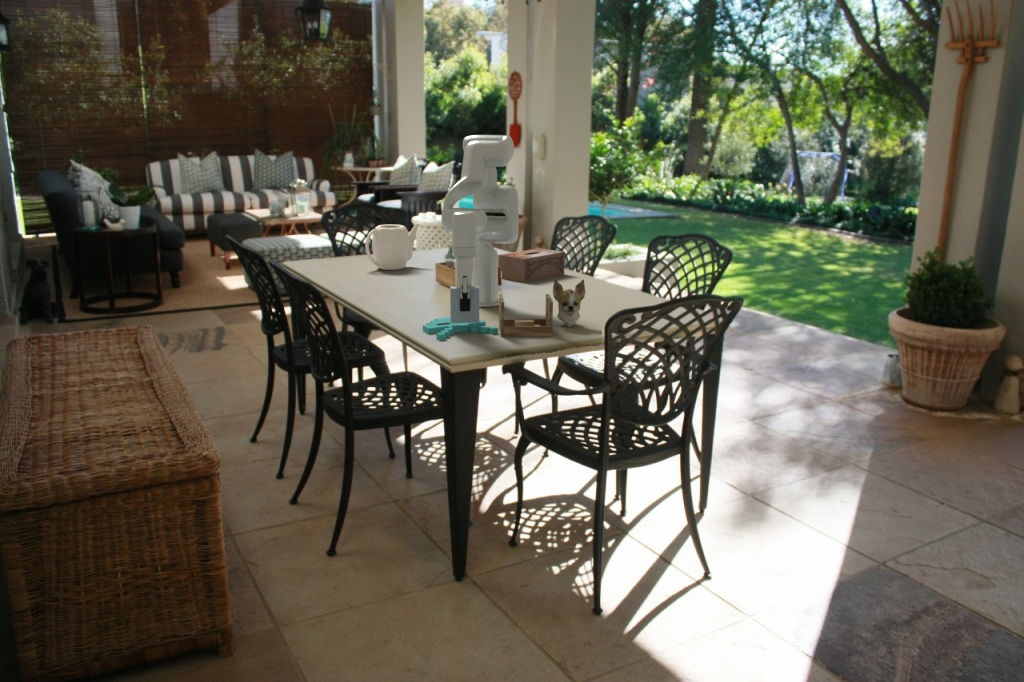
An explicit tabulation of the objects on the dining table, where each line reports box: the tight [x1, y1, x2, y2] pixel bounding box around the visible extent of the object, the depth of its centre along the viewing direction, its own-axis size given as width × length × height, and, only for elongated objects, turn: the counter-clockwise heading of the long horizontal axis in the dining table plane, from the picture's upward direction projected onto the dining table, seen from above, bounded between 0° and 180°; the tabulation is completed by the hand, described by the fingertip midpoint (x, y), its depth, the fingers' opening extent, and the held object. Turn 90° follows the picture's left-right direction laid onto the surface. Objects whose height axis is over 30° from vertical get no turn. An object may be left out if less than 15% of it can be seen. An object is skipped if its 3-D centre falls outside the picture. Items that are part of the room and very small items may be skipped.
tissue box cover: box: [498, 247, 566, 284], centre depth 370 cm, size 26×14×10 cm, turn 137°
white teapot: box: [364, 223, 420, 271], centre depth 385 cm, size 16×27×19 cm, turn 126°
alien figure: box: [422, 316, 499, 341], centre depth 280 cm, size 20×2×20 cm
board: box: [449, 285, 480, 323], centre depth 276 cm, size 4×9×11 cm, turn 94°
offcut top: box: [514, 320, 534, 327], centre depth 275 cm, size 2×6×2 cm, turn 97°
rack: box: [498, 293, 554, 338], centre depth 276 cm, size 11×16×11 cm
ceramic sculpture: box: [552, 279, 586, 328], centre depth 285 cm, size 11×9×15 cm
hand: (464, 309), depth 277 cm, fingers closed on board, 3 cm apart
